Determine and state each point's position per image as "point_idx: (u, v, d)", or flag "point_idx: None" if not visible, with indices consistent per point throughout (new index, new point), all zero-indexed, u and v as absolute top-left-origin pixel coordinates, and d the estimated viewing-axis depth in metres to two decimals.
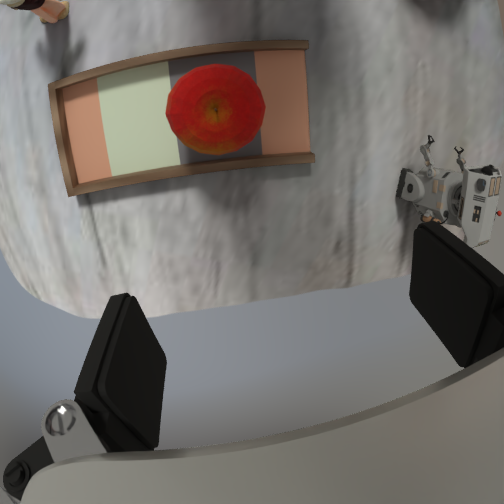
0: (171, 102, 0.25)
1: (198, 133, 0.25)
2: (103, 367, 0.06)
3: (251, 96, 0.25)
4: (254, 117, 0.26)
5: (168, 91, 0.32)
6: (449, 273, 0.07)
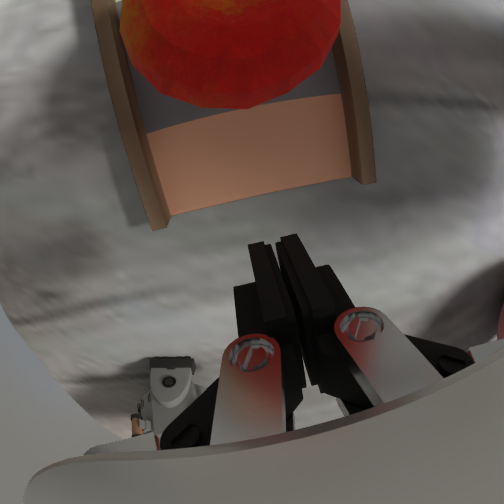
0: None
1: None
2: (283, 297, 0.07)
3: (278, 61, 0.09)
4: (220, 76, 0.09)
5: None
6: (290, 289, 0.08)
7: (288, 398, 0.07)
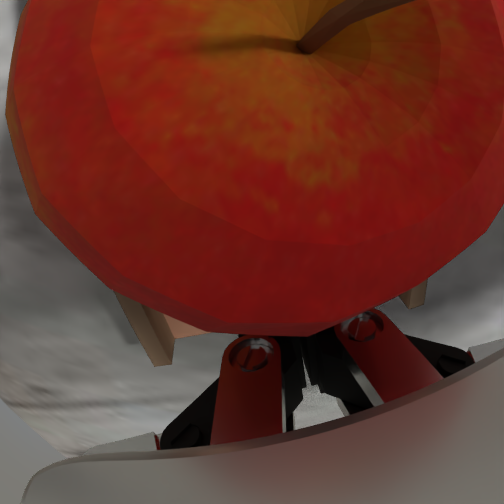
0: None
1: None
2: None
3: None
4: (253, 329, 0.04)
5: None
6: None
7: (288, 398, 0.07)
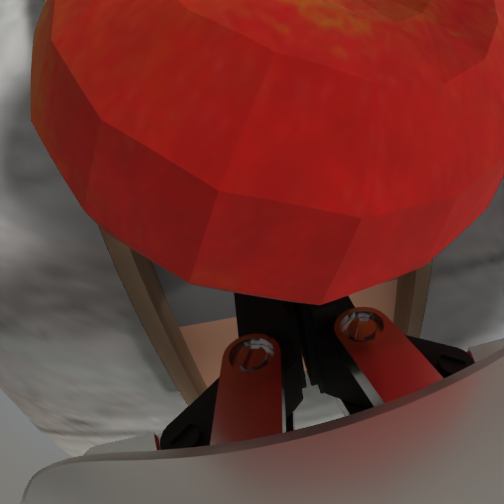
0: None
1: None
2: None
3: (431, 232, 0.03)
4: (251, 256, 0.03)
5: None
6: None
7: (288, 398, 0.07)
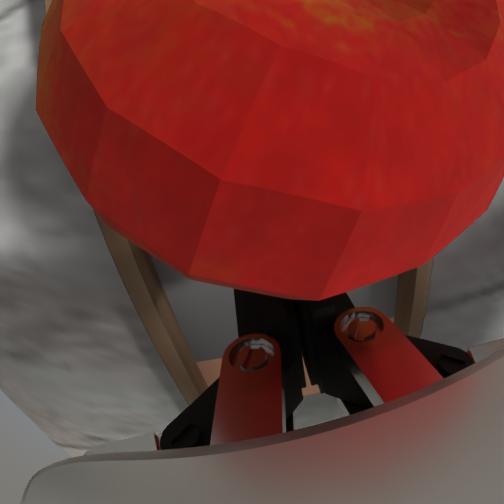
0: None
1: None
2: None
3: (431, 229, 0.03)
4: (251, 248, 0.03)
5: None
6: None
7: (288, 398, 0.07)
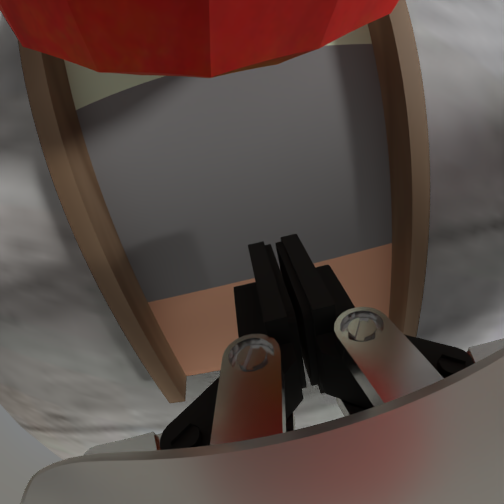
0: None
1: None
2: (283, 297, 0.07)
3: None
4: None
5: None
6: (290, 289, 0.08)
7: (288, 398, 0.07)
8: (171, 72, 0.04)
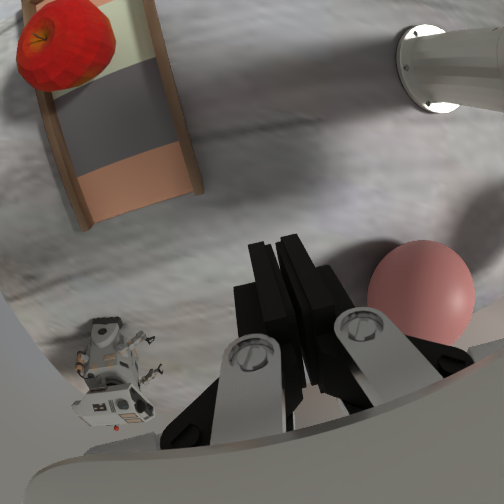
0: (56, 0, 0.15)
1: (23, 33, 0.15)
2: (283, 297, 0.07)
3: (56, 64, 0.17)
4: (39, 76, 0.18)
5: (124, 65, 0.27)
6: (290, 289, 0.08)
7: (288, 398, 0.07)
8: (58, 89, 0.20)
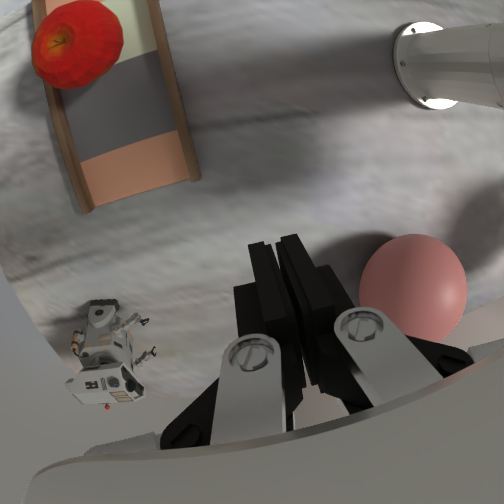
0: (67, 3, 0.16)
1: (38, 38, 0.17)
2: (283, 297, 0.07)
3: (79, 66, 0.20)
4: (62, 78, 0.20)
5: (127, 56, 0.28)
6: (290, 289, 0.08)
7: (288, 398, 0.07)
8: (79, 86, 0.23)
